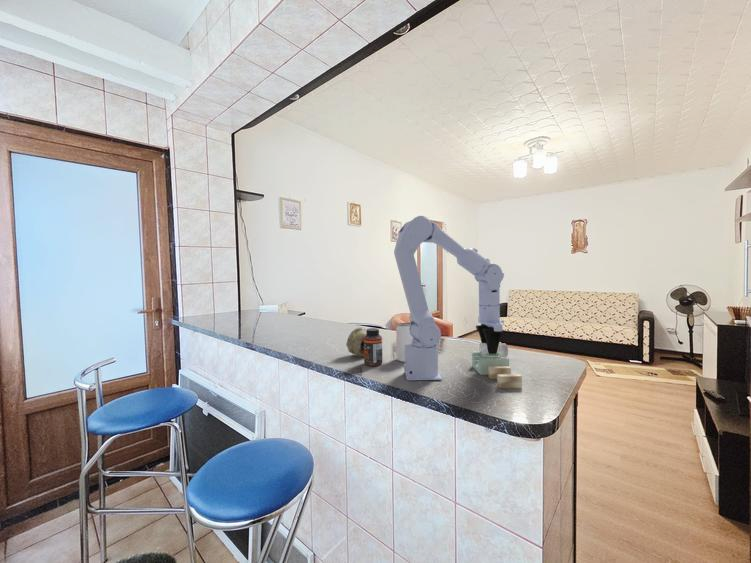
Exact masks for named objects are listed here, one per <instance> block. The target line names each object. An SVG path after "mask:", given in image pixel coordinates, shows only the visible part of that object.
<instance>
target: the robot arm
mask: <svg viewBox="0 0 751 563" xmlns="http://www.w3.org/2000/svg"><path fill="white" fill-rule="evenodd" d="M397 234H398V236H397V238H396V243H395V247H394V251H393V253H394V258H395V261H396V265H397V270H398V273H399V276H400V280H401V283H402V286H403V288H402V289H403V291H404V295H405V299H406V301H407V306H408V309H409V317H408V318H409V323H410V328H409V331H410V334H411V336H412V337H413V340H412V344H410V345H405V362H404V364H403V371H404V374H405V378H406V380H407V381H441V380H443V378H442V376H441V374H440V372H439V344H438V343H440V341H441V338H442V332H441V331H442V330H441V329H440V327H439V326H438V325H437V323H436V322H435V318H434V317H433V315H432V313H431V311H430V309H429V307H428V302H427V300H426V296H425V292H424V291H425V290H424V288H423V284H422V281H421V280H422V279H421V277H420V272H419V269H418V266H417V261H416V259H415V253H416V251H417V250H418V249H419V247H420V245H422V243H428V244H429V243H430V244H431V243H432V244H435V245H437V246H438V247H440V248H441V249H443V250H445V251H446V252H447V253H449V254H451V255H452V256H453V257H455V258H456V262H457V264H458V265H459V266H460V267H462V268H463V269H465V270H466V271H467V272H469V273H470V274H472V275H473V276H474V277H473V278H474V280H475V281H476V282H478V317H477V323H478V324H480V325H477V324H476V325H475V329H476V330H477V333H478V334H479V337H480V343H487V349H488V353H489V354H496V353H497V350H498V346H499V343H501V342H500V341H501V340H502V337H503V336H504V334H505V330H504V329H503V323H505V320H504V319H501V314H500V313H501V312H500V311H501V305H500V303H501V302H500V301H501V300H500V297H501V296H500V290H501V289H500V288H501V284H502V282H503V279H504V277H505V273H504V272H503V270H502V267H500V265H498V264H495V263H491V259H489V258H485V257H484V256H482V255H481V254H479V253H478V251H479V250H478V249H476V248H475V247H474V248H472V247H464V246H463V245H461V244H460V243H458V241H456V240H455V239H454V238H453V237H451V236H450V235H449V234H448V233H446V231H444V230H443V229H442V228H441V227H440V226H439V225H438V224H437V222H435V221H433V220H431V219H430V218H428V217H427V216H424V215H418V216H415V217H414V218H413V219H411V220H410V221H407V222H405V223H404V224H403V226H402V227H401V228H400V230H399V231H398V233H397Z"/></svg>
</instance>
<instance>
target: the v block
mask: <svg viewBox="0 0 751 563" xmlns="http://www.w3.org/2000/svg"><path fill="white" fill-rule="evenodd" d="M492 366H509V367H510V358H508V357H481V356H480V353H479V351H472V352H471V367H472V368H473V369H474V370H475V371H476V372H477V373H478V374H479V375H480V376H488V367H492Z"/></svg>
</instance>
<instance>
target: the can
mask: <svg viewBox="0 0 751 563" xmlns="http://www.w3.org/2000/svg"><path fill="white" fill-rule="evenodd" d="M409 328H410V322H399V323H397V327H396V328H395V330H396V332H395V333H396V335H395V336H396V340H395V341H396V360H397V361H398V362H400V363H405V345H410V344H412V340H413V337H412V336H411V334H410V331H409Z"/></svg>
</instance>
